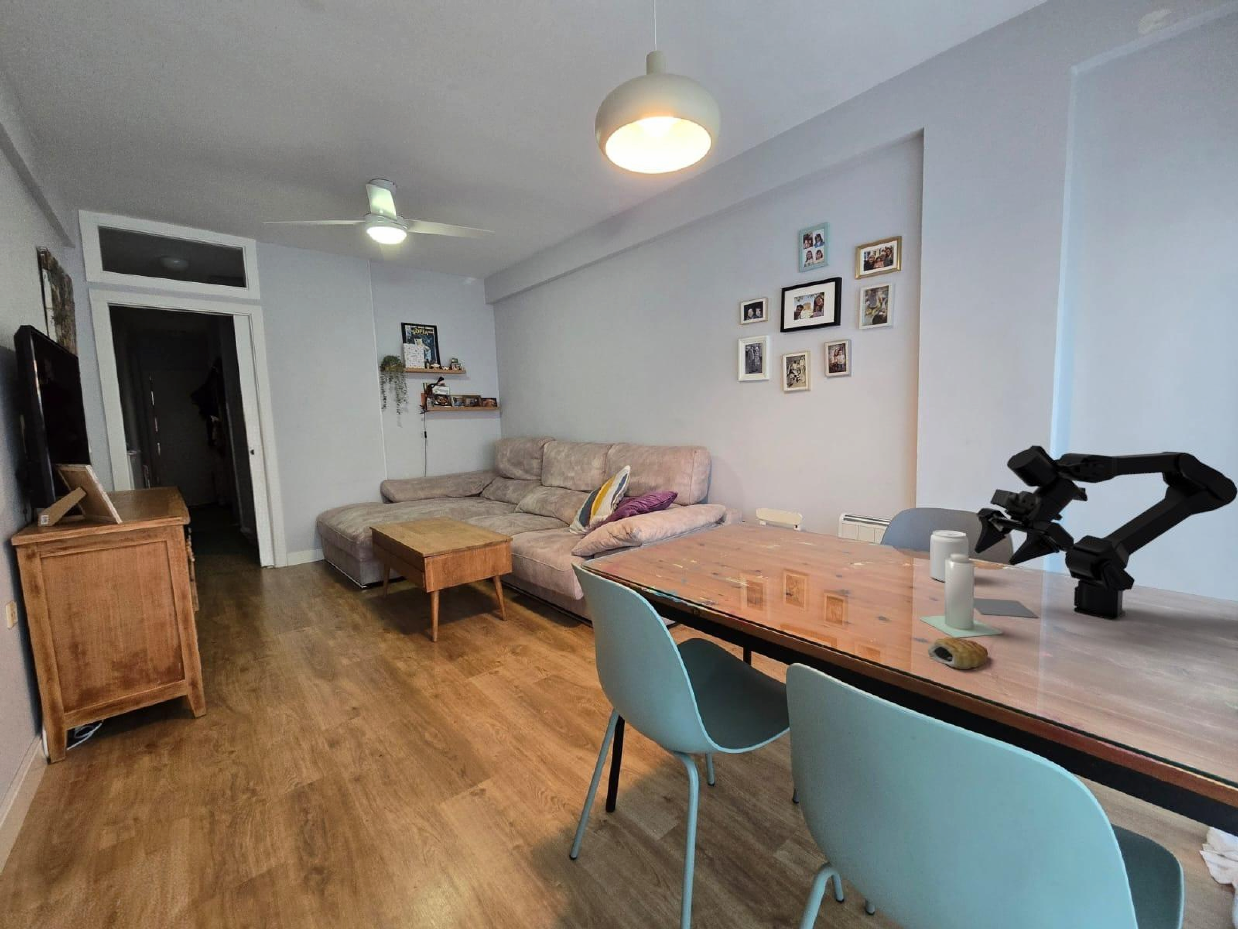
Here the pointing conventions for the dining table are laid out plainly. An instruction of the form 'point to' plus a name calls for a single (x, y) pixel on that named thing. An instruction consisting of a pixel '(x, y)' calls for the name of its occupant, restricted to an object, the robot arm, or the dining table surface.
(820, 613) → the dining table surface
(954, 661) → the pastry
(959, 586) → the white bottle
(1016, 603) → the felt pad
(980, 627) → the green tile
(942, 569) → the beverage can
